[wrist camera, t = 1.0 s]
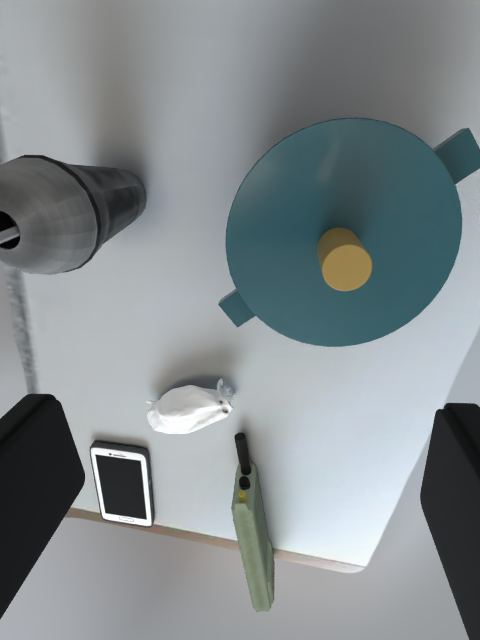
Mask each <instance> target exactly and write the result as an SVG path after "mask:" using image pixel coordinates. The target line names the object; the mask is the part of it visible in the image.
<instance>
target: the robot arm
mask: <svg viewBox="0 0 480 640" xmlns="http://www.w3.org/2000/svg"><path fill="white" fill-rule="evenodd" d="M84 482H85V472H84V469H83V466H82V463H81V460H80V458H79V455H78V452H77V449H76V446H75V443H74V440H73V437H72V434H71V431H70V428H69V425H68V423H67V420H66V417H65V414H64V411H63V408H62V405H61V403H60V402H59V401H58V400H56V398H55V397H54V396H53V395H51V394H28V395H26V396H25V397H24V398H22V399H21V400H20V401H19V402H18V403H17V404H16V405H15V406H14V407H13V408H12V409H10V411H8V412H7V413H6V414H5V415H4V416H3V417H2V418H1V419H0V619H1V617H2V616H3V614H4V613H5V611H6V609H7V608H8V606H9V604H10V603H11V601H12V600H13V598H14V597H15V595H16V593H17V592H18V590H19V588H20V587H21V585H22V584H23V582H24V581H25V579H26V577H27V576H28V574H29V572H30V571H31V569H32V568H33V566H34V565H35V563H36V561H37V560H38V558H39V556H40V555H41V553H42V552H43V550H44V548H45V547H46V545H47V544H48V542H49V540H50V539H51V537H52V536H53V534H54V532H55V531H56V529H57V528H58V526H59V524H60V523H61V521H62V520H63V518H64V516H65V515H66V513H67V512H68V510H69V508H70V507H71V505H72V504H73V502H74V500H75V499H76V497H77V496H78V494H79V492H80V491H81V489H82V487H83V485H84ZM420 498H421V505H422V509H423V512H424V515H425V518H426V521H427V523H428V526H429V529H430V532H431V534H432V537H433V540H434V543H435V545H436V548H437V551H438V554H439V556H440V560H441V562H442V565H443V568H444V571H445V573H446V576H447V579H448V582H449V585H450V587H451V590H452V593H453V596H454V598H455V601H456V604H457V607H458V610H459V612H460V615H461V618H462V621H463V624H464V626H465V629H466V632H467V635H468V637H469V640H480V407H479V406H478V405H476V404H471V403H470V404H469V403H447V404H446V405H445V406H444V409H438V410H437V411H436V414H435V419H434V424H433V429H432V434H431V440H430V445H429V450H428V456H427V461H426V466H425V471H424V477H423V482H422V487H421V494H420Z"/></svg>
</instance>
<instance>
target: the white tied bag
mask: <svg viewBox="0 0 480 640" xmlns="http://www.w3.org/2000/svg"><path fill="white" fill-rule="evenodd" d="M223 382H225V381H223V379H222V377H221V379H220V380H219V381H218V384H217V390H215V389H208V388H201V387H197V386H194V385H187V386H183V387H179V388H173V389H171V390H170V391H168V392H167V393H165V394H164V395H163V396H162V397H161V399H160V400H158V401H147V402H148V403H149V404H151V405H152V406H151V408H150V409H149V411H148V413H147V418H148V421H149V423H150V424H151V426H152V428H153V429H154V430H155V431H159V432H164V433H168V434H188V433H190V432H193V431H196V430H198V429H201V428H203V427H205V426H207V425H209V424H212V423H214V422H216V421H219V420H221V419H224V418H226V417H227V416H228V414H229V412H230V411H232V410H233V407H232V406H231V404H230V401H229V400H233V396H235V393H234V394H233V393H230V391H229V390H230V389H231V387H230V388H229V389H226V386H225V387H223Z"/></svg>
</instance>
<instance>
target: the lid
mask: <svg viewBox="0 0 480 640" xmlns="http://www.w3.org/2000/svg"><path fill="white" fill-rule="evenodd" d="M461 233H462V214H461V205H460V200H459V196H458V192H457V189H456V186H455V184H454V181H453V179H452V177H451V175H450V172H449V171H448V169H447V168H446V166H445V165H444V163H443V162H442V160H441V159H440V157H439V156H438V155H437V154H436V153H435V152H434V151H433V150H432V149H431V148H430V147H429V146H428V145H427V144H426V143H424V142H423V141H422V140H421V139H419V138H418V137H417V136H415V135H413V134H412V133H410V132H408V131H406V130H404V129H403V128H400V127H398V126H395V125H392V124H389V123H387V122H383V121H378V120H373V119H366V118H344V119H334V120H329V121H325V122H321V123H317V124H314V125H311V126H309V127H306V128H304V129H301V130H299V131H297V132H295V133H294V134H292V135H290V136H288V137H286V138H285V139H283V140H282V141H280V142H279V143H278V144H276V145H275V146H274V147H272V148H271V149H270V150H269V151H268V152H267V153H266V154H265V155H264V156H263V157H262V158H261V159H259V160H258V162H257V163H256V164H255V165H254V167H253V168H252V169H251V170H250V172H249V173H248V174H247V176H246V177H245V179H244V181H243V182H242V184H241V186H240V187H239V189H238V192H237V194H236V196H235V198H234V201H233V203H232V207H231V210H230V213H229V217H228V223H227V229H226V254H227V261H228V266H229V270H230V274H231V276H232V279H233V282H234V284H235V287H236V289H237V290H238V292H239V294H240V296H241V298H242V299H243V300H244V302H245V303H246V305H247V306H248V308H249V309H250V310H251V311H252V312H253V313H254V314H255V315H256V316H257V317H258V318H259V319H260V320H261V321H263V322H264V323H265V324H266V325H267V326H269V327H270V328H272V329H273V330H275V331H277V332H278V333H280V334H282V335H284V336H286V337H288V338H291V339H294V340H296V341H299V342H302V343H307V344H311V345H317V346H327V347H342V346H350V345H357V344H361V343H366V342H369V341H372V340H375V339H378V338H381V337H383V336H385V335H388V334H390V333H392V332H394V331H396V330H397V329H399V328H401V327H402V326H404V325H405V324H407V323H408V322H410V321H411V320H412V319H413V318H415V317H416V316H417V315H419V314H420V313H421V312H422V311H423V310H424V309H425V308H426V307H427V306H428V305H429V304H430V303H431V301H432V300H433V299H434V298H435V296H436V295H437V294H438V293H439V291H440V290H441V288H442V287H443V285H444V283H445V282H446V280H447V279H448V276H449V274H450V272H451V270H452V268H453V266H454V263H455V260H456V257H457V254H458V250H459V245H460V240H461Z"/></svg>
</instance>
